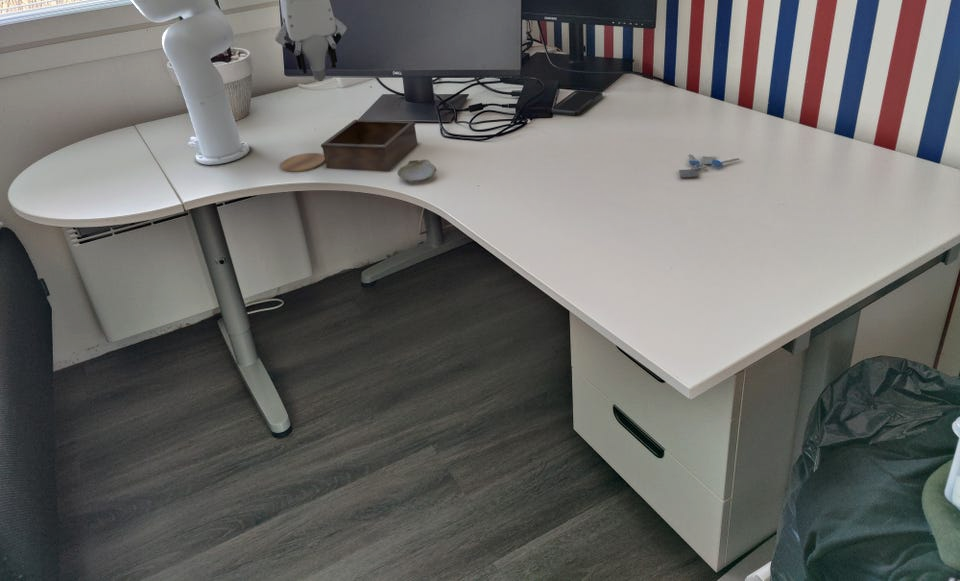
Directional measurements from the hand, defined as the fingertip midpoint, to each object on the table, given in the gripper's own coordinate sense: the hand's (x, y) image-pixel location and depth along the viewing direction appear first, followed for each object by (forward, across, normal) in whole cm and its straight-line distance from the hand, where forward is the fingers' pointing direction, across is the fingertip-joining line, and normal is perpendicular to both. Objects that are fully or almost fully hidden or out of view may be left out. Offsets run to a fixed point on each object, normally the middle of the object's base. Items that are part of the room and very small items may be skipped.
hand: (318, 68), depth 159 cm
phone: (+20, -62, +6) cm, 65 cm away
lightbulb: (+3, 0, 0) cm, 3 cm away
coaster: (+21, +7, -3) cm, 22 cm away
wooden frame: (+21, -8, +4) cm, 22 cm away
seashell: (+20, -12, +22) cm, 33 cm away
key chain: (+19, -60, +53) cm, 83 cm away
